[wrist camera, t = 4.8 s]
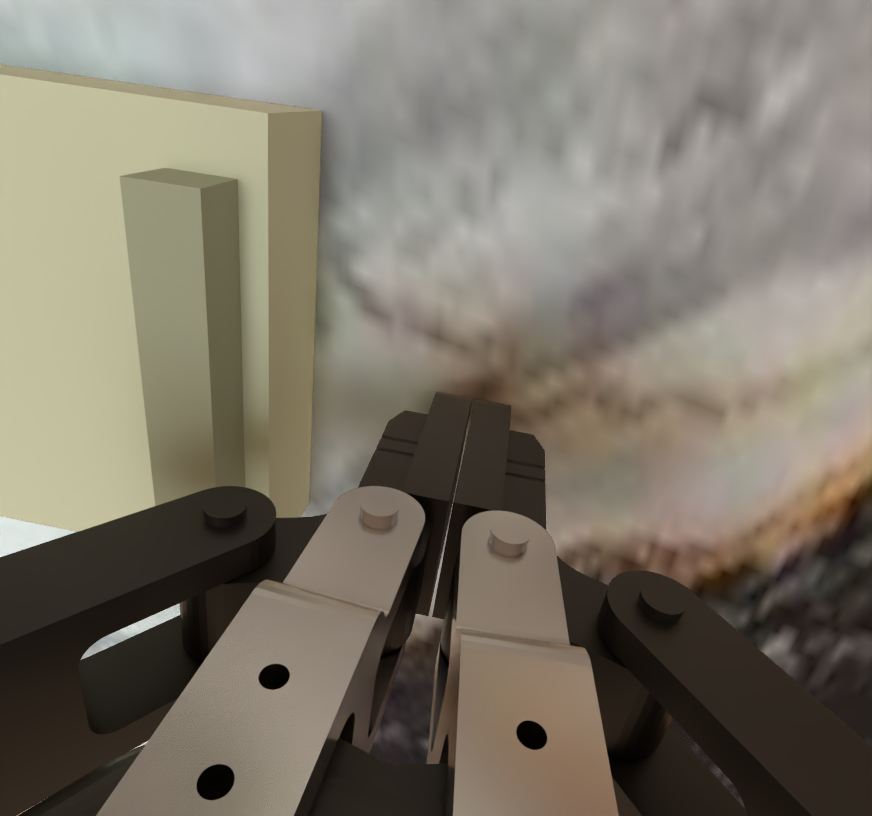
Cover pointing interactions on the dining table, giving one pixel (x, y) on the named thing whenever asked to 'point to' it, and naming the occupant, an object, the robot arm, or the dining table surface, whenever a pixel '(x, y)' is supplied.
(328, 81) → the dining table surface
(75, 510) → the panel
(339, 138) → the dining table surface
